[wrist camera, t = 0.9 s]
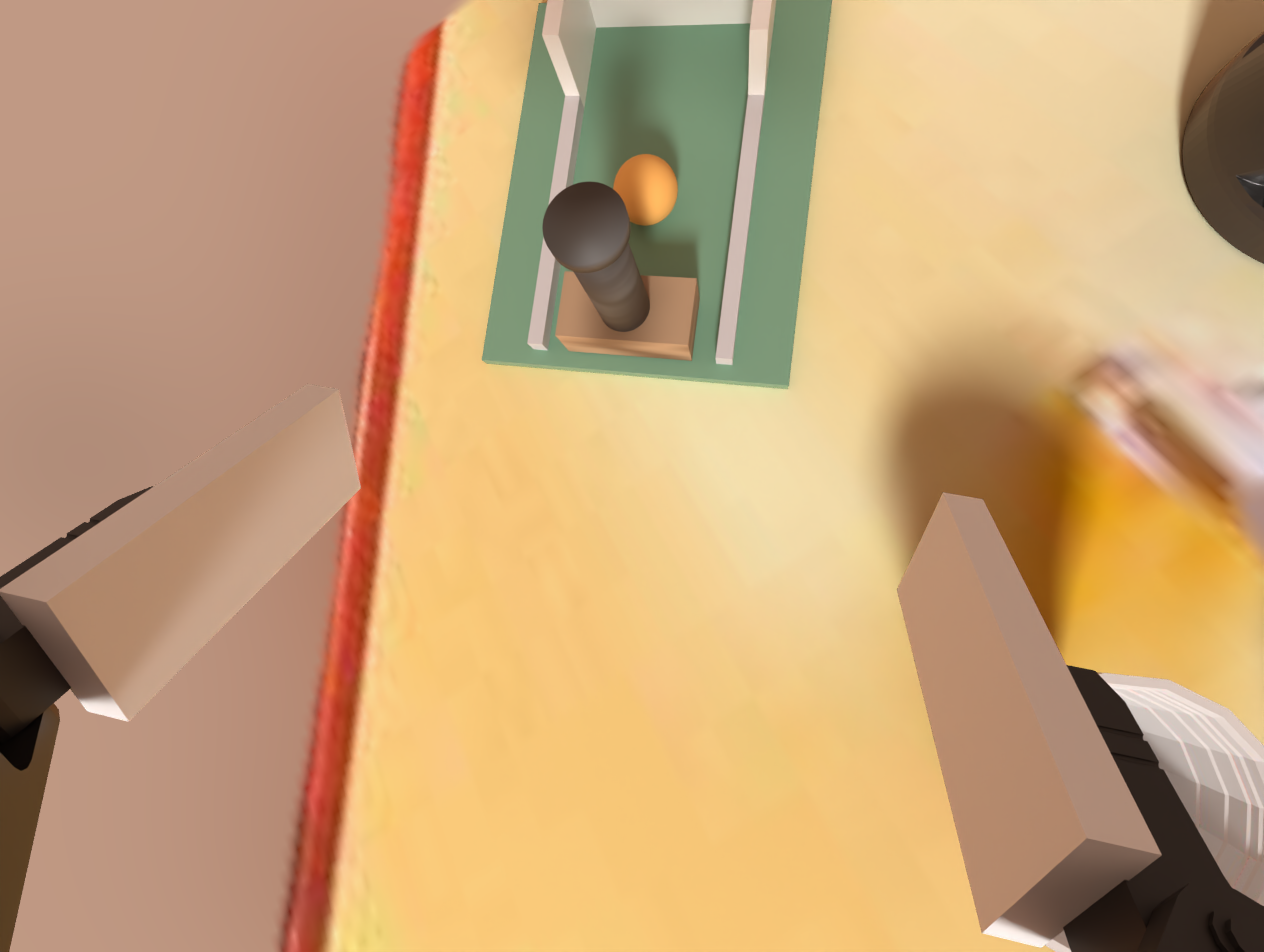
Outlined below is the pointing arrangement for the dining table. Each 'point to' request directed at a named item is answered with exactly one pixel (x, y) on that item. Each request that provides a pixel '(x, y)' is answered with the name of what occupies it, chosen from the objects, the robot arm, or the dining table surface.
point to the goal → (593, 3)
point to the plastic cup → (1204, 774)
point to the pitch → (707, 189)
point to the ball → (647, 188)
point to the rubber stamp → (613, 282)
